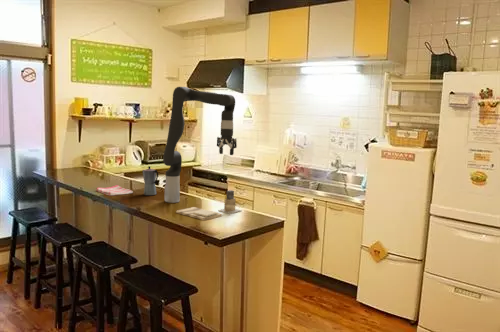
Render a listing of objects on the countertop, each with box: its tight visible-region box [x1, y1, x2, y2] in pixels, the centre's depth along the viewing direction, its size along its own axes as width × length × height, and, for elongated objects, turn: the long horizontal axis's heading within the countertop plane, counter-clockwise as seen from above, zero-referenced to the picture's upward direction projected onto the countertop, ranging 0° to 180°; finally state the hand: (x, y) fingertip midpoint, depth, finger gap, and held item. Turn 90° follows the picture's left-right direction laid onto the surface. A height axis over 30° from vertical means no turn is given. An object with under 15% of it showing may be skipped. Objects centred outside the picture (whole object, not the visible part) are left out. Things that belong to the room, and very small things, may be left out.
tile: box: [193, 209, 219, 216], centre depth 242 cm, size 11×9×1 cm
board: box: [175, 206, 223, 221], centre depth 246 cm, size 24×14×1 cm, turn 50°
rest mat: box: [217, 208, 242, 215], centre depth 256 cm, size 10×10×1 cm
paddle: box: [223, 189, 236, 212], centre depth 255 cm, size 3×7×12 cm, turn 140°
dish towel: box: [96, 184, 134, 197], centre depth 301 cm, size 17×23×4 cm
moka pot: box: [142, 165, 159, 196], centre depth 295 cm, size 10×15×20 cm, turn 59°
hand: (226, 154), depth 256 cm, fingers open, 8 cm apart
